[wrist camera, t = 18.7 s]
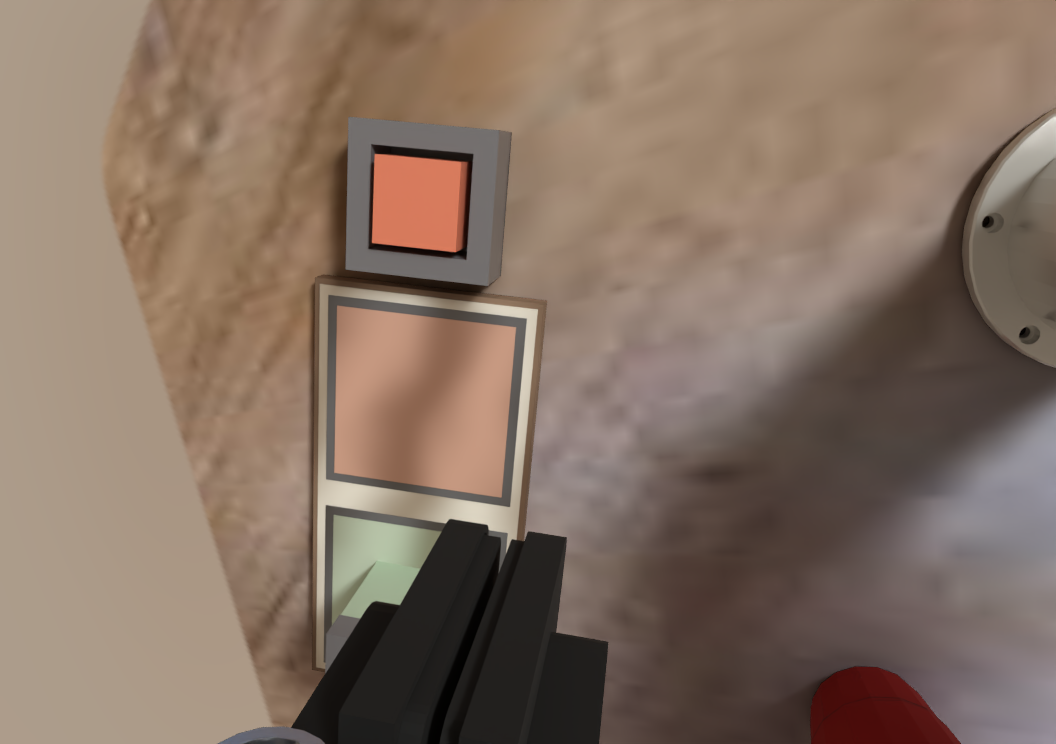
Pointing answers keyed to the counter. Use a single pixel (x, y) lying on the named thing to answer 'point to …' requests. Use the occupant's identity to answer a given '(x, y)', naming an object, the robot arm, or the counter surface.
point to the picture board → (415, 426)
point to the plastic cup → (873, 711)
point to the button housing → (486, 200)
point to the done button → (421, 202)
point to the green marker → (369, 601)
